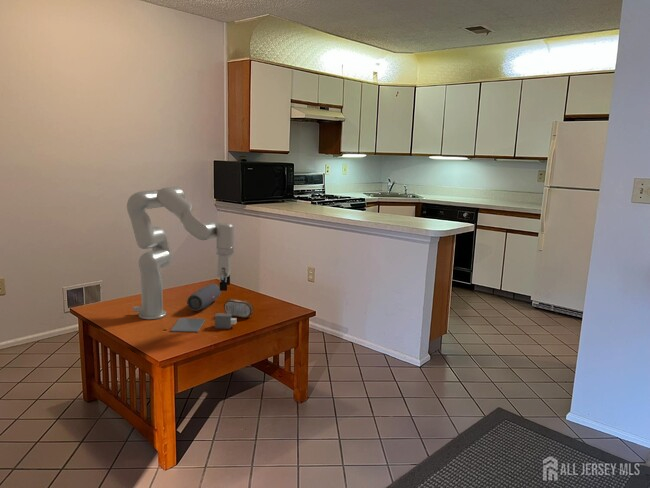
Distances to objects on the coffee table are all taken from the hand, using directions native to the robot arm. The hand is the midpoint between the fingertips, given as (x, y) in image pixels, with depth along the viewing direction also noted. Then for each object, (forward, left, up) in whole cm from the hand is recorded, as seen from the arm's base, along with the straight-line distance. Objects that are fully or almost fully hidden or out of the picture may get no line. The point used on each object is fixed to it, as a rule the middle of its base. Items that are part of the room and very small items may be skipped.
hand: (224, 287), depth 219 cm
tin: (+4, +15, -19) cm, 24 cm away
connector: (+1, 0, -19) cm, 19 cm away
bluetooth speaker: (-15, +29, -19) cm, 37 cm away
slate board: (-17, 0, -19) cm, 25 cm away
